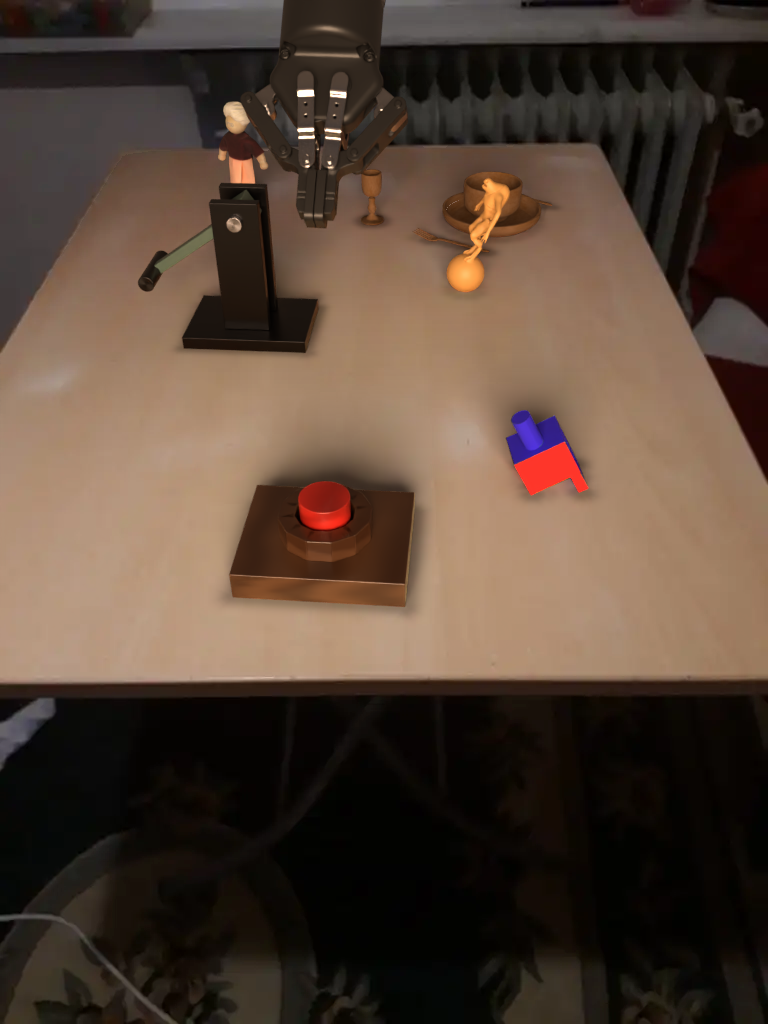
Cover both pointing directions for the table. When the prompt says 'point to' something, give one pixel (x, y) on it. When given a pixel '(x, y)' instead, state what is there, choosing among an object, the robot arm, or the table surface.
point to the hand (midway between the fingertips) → (315, 224)
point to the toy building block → (542, 454)
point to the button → (324, 506)
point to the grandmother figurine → (240, 145)
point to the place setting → (469, 205)
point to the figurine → (478, 239)
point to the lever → (178, 253)
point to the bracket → (247, 283)
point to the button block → (325, 550)
